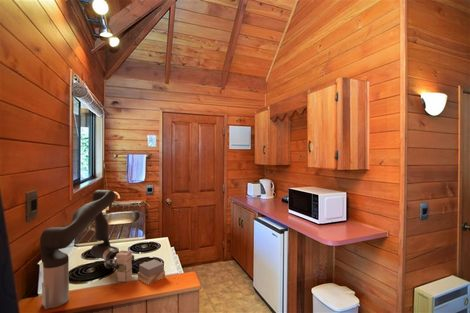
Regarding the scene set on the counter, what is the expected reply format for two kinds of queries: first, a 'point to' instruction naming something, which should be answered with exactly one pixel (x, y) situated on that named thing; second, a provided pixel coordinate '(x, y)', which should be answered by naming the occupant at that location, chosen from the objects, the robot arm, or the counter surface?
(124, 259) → the pinkish brown brick pillar
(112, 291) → the counter surface
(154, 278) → the tower base
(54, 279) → the robot arm
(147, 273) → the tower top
